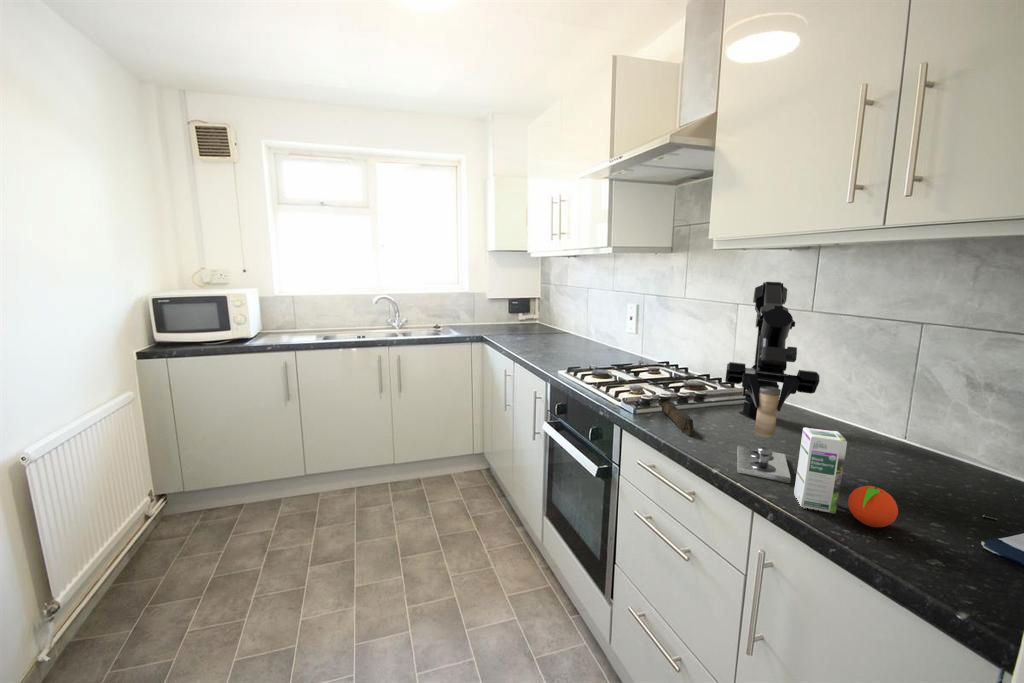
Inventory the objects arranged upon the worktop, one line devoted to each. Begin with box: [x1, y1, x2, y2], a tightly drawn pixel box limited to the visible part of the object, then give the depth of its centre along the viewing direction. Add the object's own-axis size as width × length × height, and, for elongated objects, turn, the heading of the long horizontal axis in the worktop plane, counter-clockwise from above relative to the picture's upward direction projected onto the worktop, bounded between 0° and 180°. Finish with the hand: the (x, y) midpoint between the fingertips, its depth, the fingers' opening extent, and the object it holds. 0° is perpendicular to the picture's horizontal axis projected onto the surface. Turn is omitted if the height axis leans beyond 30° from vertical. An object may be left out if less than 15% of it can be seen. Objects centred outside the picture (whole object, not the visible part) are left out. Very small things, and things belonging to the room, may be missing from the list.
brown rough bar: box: [661, 401, 694, 437], centre depth 127 cm, size 19×4×5 cm, turn 176°
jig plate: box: [736, 445, 791, 484], centre depth 101 cm, size 14×10×5 cm
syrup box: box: [793, 427, 848, 515], centre depth 85 cm, size 6×6×14 cm
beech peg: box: [754, 386, 781, 439], centre depth 102 cm, size 4×4×11 cm
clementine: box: [847, 485, 899, 528], centre depth 79 cm, size 8×7×7 cm
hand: (768, 408), depth 101 cm, fingers closed on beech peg, 4 cm apart
